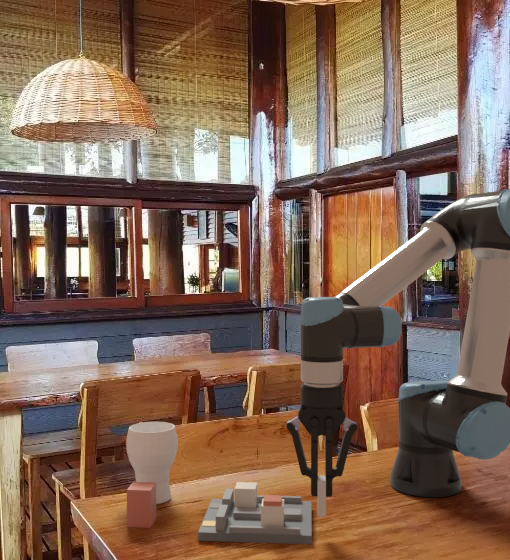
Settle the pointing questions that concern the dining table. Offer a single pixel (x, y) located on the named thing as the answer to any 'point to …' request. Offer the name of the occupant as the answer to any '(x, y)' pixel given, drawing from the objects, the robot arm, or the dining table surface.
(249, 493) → the block
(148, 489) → the cap
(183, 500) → the dining table surface
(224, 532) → the panel
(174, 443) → the cup
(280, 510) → the block
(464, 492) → the dining table surface
